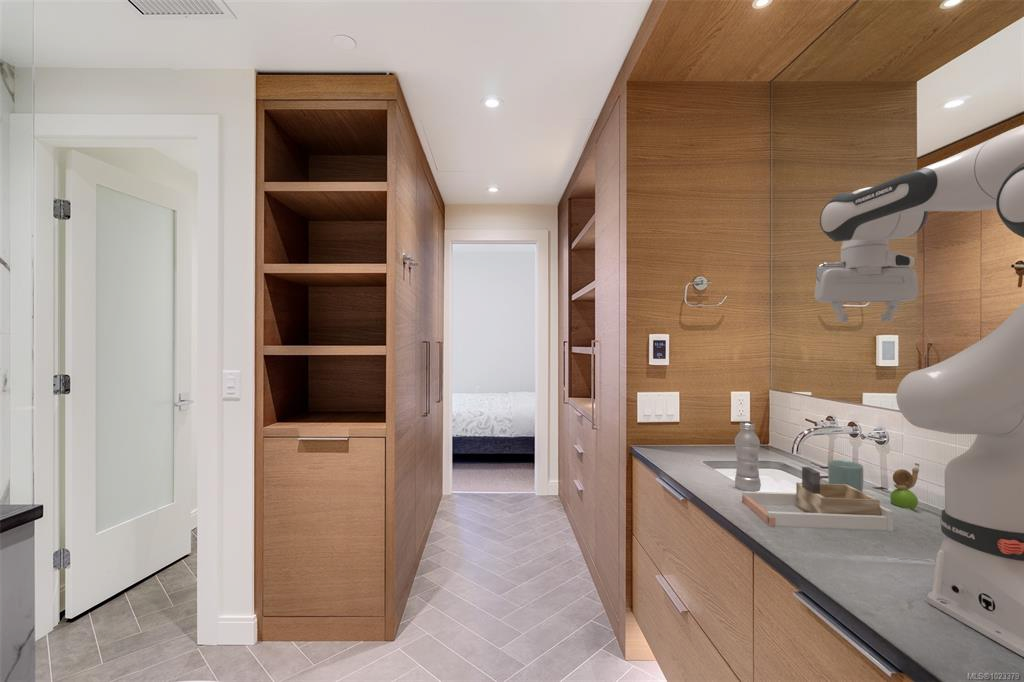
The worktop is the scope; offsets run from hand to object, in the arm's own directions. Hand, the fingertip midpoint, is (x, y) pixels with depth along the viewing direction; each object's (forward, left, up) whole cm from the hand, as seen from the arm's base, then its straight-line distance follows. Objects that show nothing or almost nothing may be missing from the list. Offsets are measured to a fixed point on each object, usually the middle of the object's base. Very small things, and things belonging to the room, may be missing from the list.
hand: (864, 321), depth 104 cm
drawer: (+5, +4, -47) cm, 47 cm away
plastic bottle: (+25, +16, -48) cm, 57 cm away
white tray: (+5, +9, -48) cm, 49 cm away
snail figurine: (+15, -19, -48) cm, 54 cm away
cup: (+21, -8, -48) cm, 53 cm away
